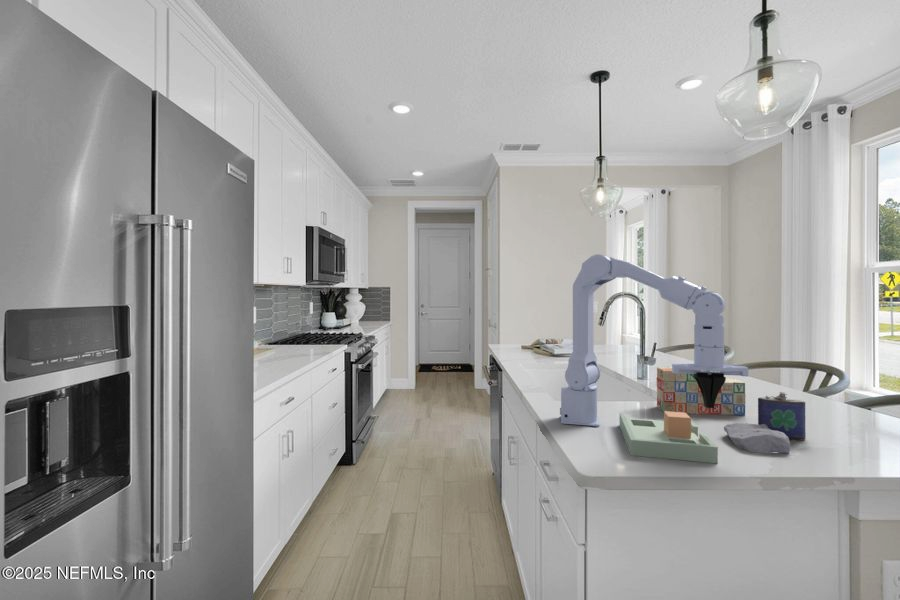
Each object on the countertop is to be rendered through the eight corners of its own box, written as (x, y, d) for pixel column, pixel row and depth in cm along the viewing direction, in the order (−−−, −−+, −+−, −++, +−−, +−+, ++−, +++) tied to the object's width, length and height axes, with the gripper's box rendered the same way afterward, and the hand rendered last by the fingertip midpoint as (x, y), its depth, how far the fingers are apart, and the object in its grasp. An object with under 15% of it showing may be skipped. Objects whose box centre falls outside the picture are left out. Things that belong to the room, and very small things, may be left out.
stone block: (745, 461, 90) (796, 454, 88) (740, 438, 90) (791, 431, 89) (719, 444, 101) (764, 437, 100) (714, 424, 102) (759, 417, 100)
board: (630, 455, 88) (630, 439, 88) (619, 425, 108) (619, 412, 108) (717, 463, 84) (717, 447, 84) (688, 430, 104) (689, 417, 104)
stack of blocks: (734, 410, 123) (734, 368, 123) (745, 416, 117) (746, 371, 117) (656, 406, 127) (656, 366, 127) (663, 412, 121) (663, 369, 120)
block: (668, 436, 94) (668, 416, 94) (663, 430, 98) (663, 411, 98) (690, 438, 92) (690, 418, 92) (685, 432, 97) (685, 412, 97)
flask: (802, 437, 99) (802, 392, 99) (808, 441, 96) (808, 394, 96) (756, 433, 102) (756, 389, 102) (760, 437, 99) (760, 392, 99)
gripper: (677, 347, 92) (677, 409, 92) (754, 349, 88) (754, 414, 88) (669, 343, 99) (669, 401, 99) (741, 345, 95) (741, 405, 95)
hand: (709, 406), depth 94 cm, fingers closed
